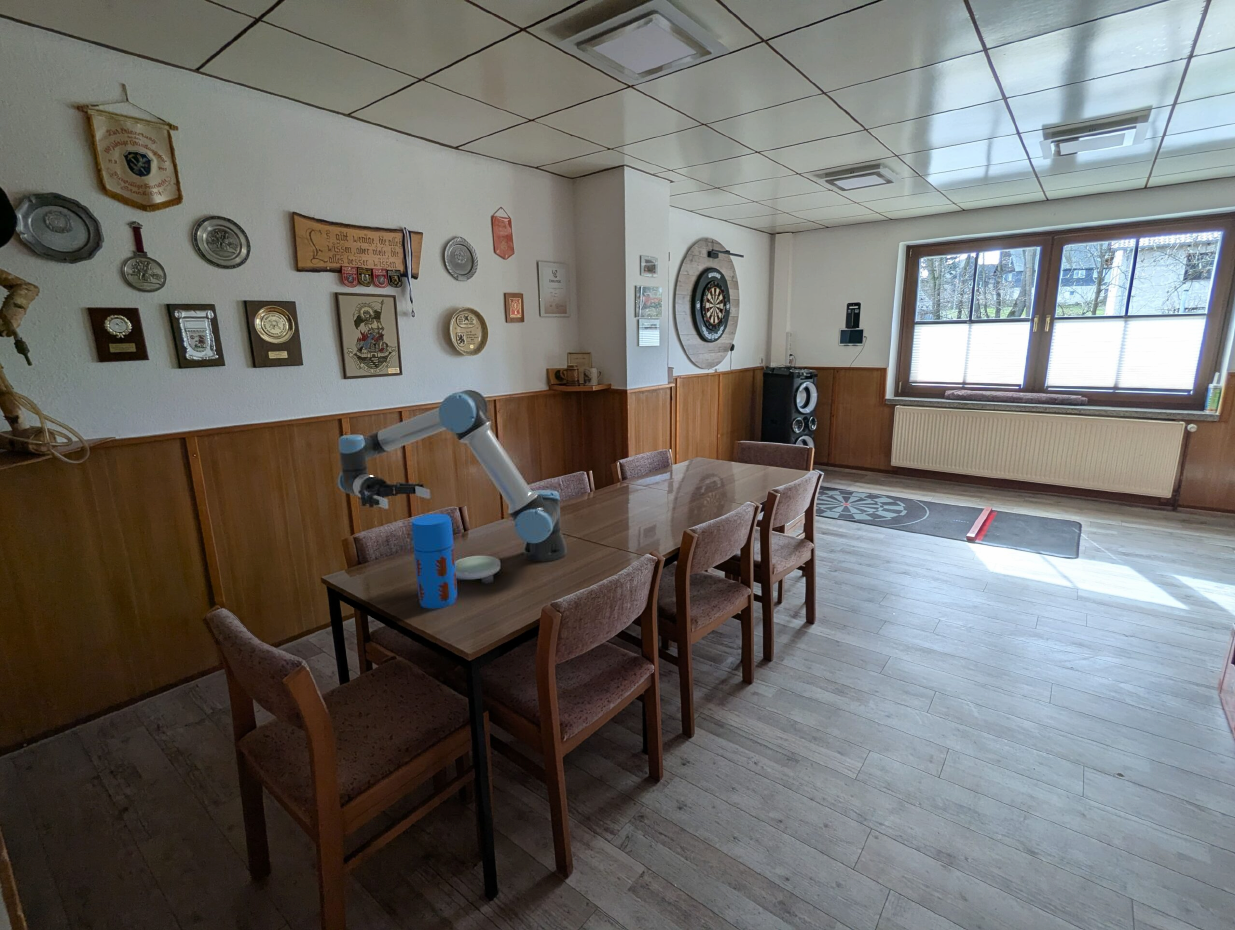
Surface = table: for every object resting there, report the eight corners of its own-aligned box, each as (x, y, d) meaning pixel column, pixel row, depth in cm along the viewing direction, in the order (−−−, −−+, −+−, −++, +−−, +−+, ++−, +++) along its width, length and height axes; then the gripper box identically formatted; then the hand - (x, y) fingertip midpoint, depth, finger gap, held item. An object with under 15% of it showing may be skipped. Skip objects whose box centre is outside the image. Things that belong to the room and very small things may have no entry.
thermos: (461, 592, 173) (455, 513, 168) (452, 608, 163) (445, 524, 158) (425, 593, 173) (417, 514, 168) (414, 609, 163) (405, 525, 157)
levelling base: (441, 585, 178) (440, 573, 177) (462, 565, 194) (461, 554, 193) (490, 588, 176) (489, 575, 175) (507, 567, 191) (507, 556, 190)
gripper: (407, 491, 191) (445, 501, 178) (332, 508, 172) (369, 521, 159) (405, 469, 190) (443, 478, 177) (330, 484, 171) (366, 495, 158)
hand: (408, 498), depth 168 cm, fingers open, 13 cm apart
